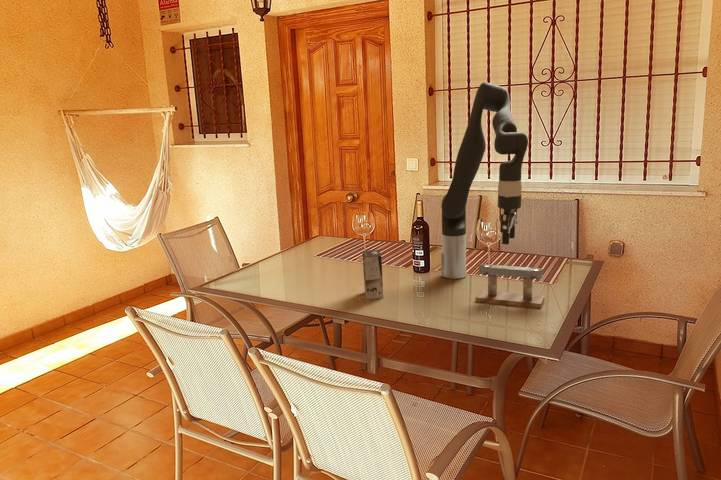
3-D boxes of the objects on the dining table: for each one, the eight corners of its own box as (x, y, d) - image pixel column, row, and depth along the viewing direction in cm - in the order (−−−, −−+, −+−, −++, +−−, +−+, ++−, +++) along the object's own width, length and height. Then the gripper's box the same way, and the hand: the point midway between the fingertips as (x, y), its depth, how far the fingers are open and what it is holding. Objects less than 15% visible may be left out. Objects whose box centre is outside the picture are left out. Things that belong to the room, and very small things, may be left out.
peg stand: (475, 301, 204) (475, 275, 202) (480, 293, 211) (480, 268, 209) (540, 308, 195) (541, 281, 192) (544, 300, 202) (544, 273, 199)
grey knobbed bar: (477, 273, 203) (477, 267, 202) (480, 270, 207) (480, 263, 206) (541, 279, 194) (541, 272, 193) (543, 275, 198) (543, 268, 197)
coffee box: (383, 298, 212) (382, 255, 208) (366, 299, 211) (364, 257, 207) (380, 290, 221) (378, 249, 217) (363, 291, 220) (361, 250, 216)
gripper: (503, 189, 201) (502, 235, 205) (493, 196, 189) (492, 245, 193) (525, 190, 198) (524, 237, 202) (516, 197, 185) (515, 247, 189)
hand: (508, 241), depth 197 cm, fingers open, 8 cm apart
